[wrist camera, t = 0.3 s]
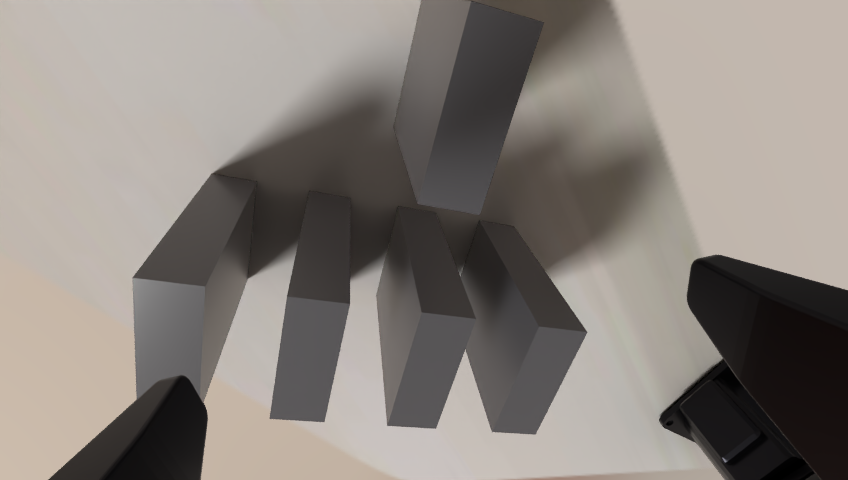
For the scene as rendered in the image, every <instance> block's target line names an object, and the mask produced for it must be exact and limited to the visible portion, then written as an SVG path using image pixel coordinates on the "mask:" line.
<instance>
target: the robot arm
mask: <svg viewBox="0 0 848 480" xmlns="http://www.w3.org/2000/svg"><path fill="white" fill-rule="evenodd" d="M687 302H688V305H689V308H690V310H691V311H692V313H693V314H694V316H695V317H696V319H697V320H698V322H699V323H700V325H701V326H702V328H703V329H704V331H705V332H706V333H707V335H708V336H709V338H710V339H711V341H712V342H713V344H714V345H715V347H716V348H717V350H718V351H719V353H720V354H721V356H722V357H723V359H724V360H725V361H723V362H722V363H721V364H720V365H719V366H718V367H717V368H716V369H714V370H713V371H712V372H711V373H710V374H709V375H708V376H706V377H705V378H704V379H703V380H702V381H701V382H700V383H699V384H697V385H696V386H695V387H694V388H693V389H692V390H691V391H689V392H688V393H687V394H686V395H685V396H684V397H683V398H681V399H680V400H679V401H678V402H677V403H676V404H675V405H674V406H672V407H671V408H670V409H669V410H668V411H667V412H666V413H664V414H663V415H662V416H661V417H660V419H659V422H660V423H661V425H662V426H663V427H664V428H665V429H668V430H670V431H672V432H674V433H676V434H678V435H681V436H683V437H685V438H687V439H689V440H691V441H693V442H696V443H697V444H698V445H699V447H700V448H701V449H702V451H703V452H704V453H705V455H706V456H707V457H708V459H709V460H710V461H711V462H712V464H713V465H714V466H715V468H716V469H717V470H718V472H719V473H720V474H721V475H722V477H723V478H724V479H725V480H848V290H845V289H841V288H837V287H834V286H830V285H827V284H823V283H820V282H816V281H812V280H809V279H805V278H802V277H798V276H794V275H791V274H787V273H784V272H780V271H776V270H773V269H769V268H765V267H762V266H758V265H755V264H751V263H748V262H744V261H740V260H737V259H733V258H730V257H726V256H722V255H712V256H708V257H703V258H699V259H696V260H695V261H694V262H693V263H692V265H691V270H690V277H689V284H688V291H687ZM207 421H208V417H207V410H206V407H205V405H204V403H203V401H202V400H201V398H200V396H199V395H198V393H197V391H196V389H195V388H194V386H193V384H192V383H191V381H190V380H189V378H188V377H186V376H184V375H178V376H174V377H169V378H165V379H161V380H159V381H157V382H156V383H155V384H154V385H152V386H151V387H150V388H149V389H148V390H147V391H146V392H145V393H144V394H143V395H141V396H140V397H139V398H138V399H137V400H136V401H135V402H134V403H133V404H131V405H130V406H129V407H128V408H127V409H126V410H125V411H124V412H123V413H122V414H120V415H119V416H118V417H117V418H116V419H115V420H114V421H113V422H112V423H111V424H109V425H108V426H107V427H106V428H105V429H104V430H103V431H102V432H101V433H99V434H98V435H97V436H96V437H95V438H94V439H93V440H92V441H91V442H90V443H88V444H87V445H86V446H85V447H84V448H83V449H82V450H81V451H80V452H78V453H77V454H76V455H75V456H74V457H73V458H72V459H71V460H70V461H68V462H67V463H66V464H65V465H64V466H63V467H62V468H61V469H60V470H58V471H57V472H56V473H55V474H54V475H53V476H52V477H51V478H50V479H49V480H201V472H202V463H203V455H204V447H205V439H206V429H207Z"/></svg>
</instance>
